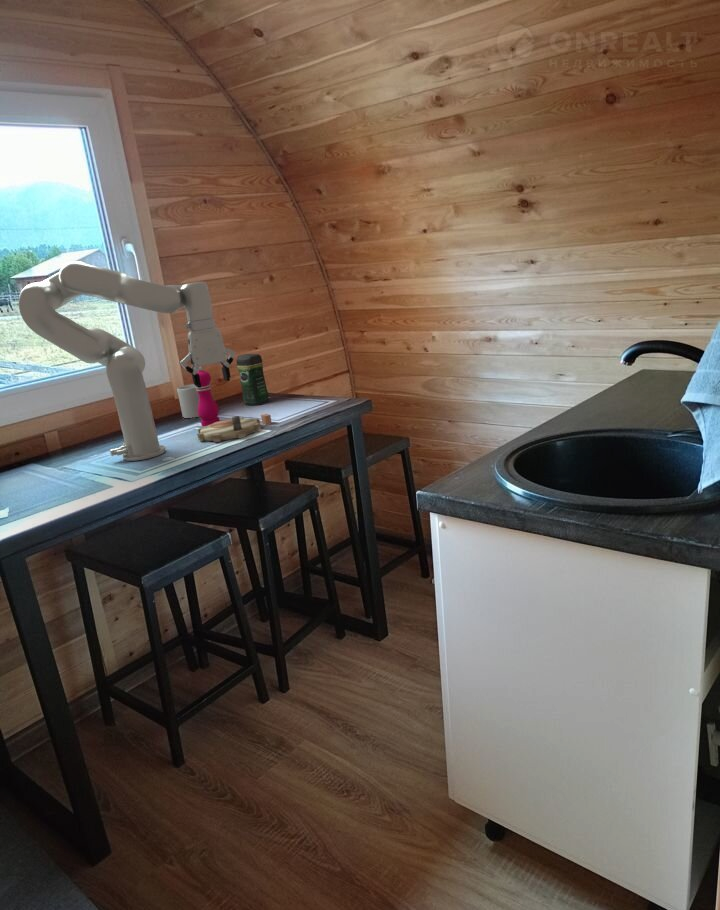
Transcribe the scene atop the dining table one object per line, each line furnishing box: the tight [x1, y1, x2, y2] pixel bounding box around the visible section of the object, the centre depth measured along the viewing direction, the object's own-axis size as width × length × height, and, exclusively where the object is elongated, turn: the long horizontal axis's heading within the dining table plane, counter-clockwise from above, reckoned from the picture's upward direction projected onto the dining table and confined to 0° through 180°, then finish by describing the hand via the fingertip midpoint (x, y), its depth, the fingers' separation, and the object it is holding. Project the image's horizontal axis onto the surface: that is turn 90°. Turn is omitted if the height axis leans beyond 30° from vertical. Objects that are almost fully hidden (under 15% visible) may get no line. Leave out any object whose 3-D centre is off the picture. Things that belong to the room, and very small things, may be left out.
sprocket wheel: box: [196, 415, 262, 443], centre depth 226 cm, size 20×20×6 cm
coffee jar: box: [235, 353, 270, 406], centre depth 266 cm, size 10×8×19 cm
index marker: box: [260, 413, 273, 426], centre depth 233 cm, size 2×3×3 cm, turn 32°
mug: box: [176, 383, 199, 419], centre depth 259 cm, size 12×8×11 cm
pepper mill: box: [196, 366, 221, 427], centre depth 242 cm, size 7×7×20 cm
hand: (212, 383), depth 214 cm, fingers open, 8 cm apart
